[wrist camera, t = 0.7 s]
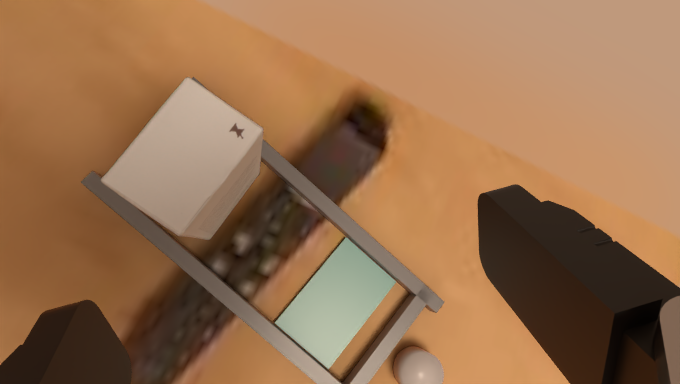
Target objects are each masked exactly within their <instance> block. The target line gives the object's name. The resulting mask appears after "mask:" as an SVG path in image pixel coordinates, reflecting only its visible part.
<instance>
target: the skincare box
mask: <svg viewBox="0 0 680 384" xmlns="http://www.w3.org/2000/svg"><path fill="white" fill-rule="evenodd" d="M262 141H263V128H262V127H261V126H259V125H258V124H256V123H255V122H254V121H252V120H251V119H249V118H248V117H246V116H245V115H243V114H242V113H240V112H239V111H237V110H236V109H235V108H233V107H232V106H230V105H229V104H227V103H226V102H224V101H223V100H221V99H220V98H219V97H217V96H216V95H214V94H213V93H211V92H210V91H209V90H207V89H206V88H204V87H203V86H201V85H200V84H198V83H197V82H196V81H194V80H193V79H191V78H190V77H186V78H185V79H184V80H183V82H182V83H181V84H180V85H179V86H178V87H177V88H176V90H175V91H174V92H173V93H172V94H171V96H170V97H169V98H168V99H167V100H166V102H165V103H164V104H163V105H162V106H161V107H160V109H159V110H158V111H157V112H156V113H155V115H154V116H153V117H152V118H151V119H150V121H149V122H148V123H147V124H146V126H145V127H144V128H143V129H142V131H141V132H140V133H139V134H138V136H137V137H136V138H135V139H134V141H133V142H132V143H131V144H130V145H129V147H128V148H127V149H126V150H125V151H124V153H123V154H122V155H121V156H120V157H119V159H118V160H117V161H116V162H115V163H114V165H113V166H112V167H111V168H110V169H109V171H108V172H107V173H106V174H105V175H104V176H103V177H102V179H101V182H102V183H103V184H105V185H106V186H107V187H109V188H110V189H111V190H113V191H114V192H116V193H117V194H118V195H120V196H121V197H123V198H124V199H125V200H127V201H128V202H130V203H131V204H133V205H134V206H135V207H137V208H138V209H140V210H141V211H143V212H144V213H145V214H147V215H148V216H150V217H151V218H153V219H154V220H155V221H157V222H158V223H160V224H161V225H163V226H164V227H166V228H167V229H169V230H170V231H172V232H173V233H175V234H176V235H178V236H186V237H193V238H199V239H205V240H210V239H211V238H212V236H213V235H214V234H215V232H216V231H217V230H218V228H219V227H220V226H221V224H222V223H223V222H224V220H225V219H226V218H227V216H228V215H229V214H230V212H231V211H232V210H233V208H234V207H235V206H236V204H237V203H238V202H239V200H240V199H241V198H242V196H243V195H244V194H245V192H246V191H247V190H248V188H249V187H250V186H251V184H252V183H253V182H254V180H255V179H256V178H257V176H258V175H259V172H260V161H261V150H262Z"/></svg>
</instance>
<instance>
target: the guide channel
mask: <svg viewBox="0 0 680 384" xmlns="http://www.w3.org/2000/svg"><path fill="white" fill-rule="evenodd" d="M192 79H193V80H194V81H196V82H197V83H198V84H200V85H201V86H203V85H202V84H201V83H200V82H199V81H197V80H196V79H195V78H194V77H193V78H192ZM203 87H204V86H203ZM204 88H205V87H204ZM207 90H208V89H207ZM261 161H262V162H264V163H265V164H266V165H267V166H268V167H269V168H270V169H271V170H272V171H274V172H275V173H276V174H277V175H278V176H279V177H280V178H281V179H283V180H284V181H285V182H286V183H287V184H288V185H289V186H290V187H292V188H293V189H294V190H295V191H296V192H297V193H298V194H299V195H301V196H302V197H303V198H304V199H305V200H306V201H307V202H308V203H309V204H311V205H312V206H313V207H314V208H315V209H316V210H317V211H318V212H320V213H321V214H322V215H323V216H324V217H325V218H326V219H327V220H329V221H330V222H331V223H332V224H333V225H334V226H335V227H336V228H338V229H339V230H340V231H341V232H342V233H343V234H344V235H345V236H346V237H345V238H344V240H343V241H342V242H341V243H340V244H339V246H338V247H337V248H336V249H335V250H334V252H333V253H332V254H331V255H330V256H329V258H328V259H327V260H326V261H325V262H324V264H323V265H322V266H321V267H320V268H319V270H318V271H317V272H316V273H315V274H314V276H313V277H312V278H311V279H310V280H309V282H308V283H307V284H306V285H305V286H304V287H303V289H302V290H301V291H300V292H299V293H298V295H297V296H296V297H295V298H294V299H293V301H292V302H291V303H290V304H289V305H288V307H287V308H286V309H285V310H284V311H283V313H282V314H281V315H280V316H279V317H278V319H277V320H276V321H275V322H274V323H275V324H276V325H277V326H279V327H280V328H281V329H282V330H283V331H284V332H286V333H287V334H288V335H289V336H290V337H291V338H293V339H294V340H295V341H296V342H297V343H298V344H300V345H301V346H302V347H303V348H304V349H305V350H306V351H308V352H309V353H310V354H311V355H312V356H313V357H315V358H316V359H317V360H318V361H319V362H320V363H322V364H323V365H324V366H325V367H326V368H327V369H329V368H330V367H331V366H332V364H333V363H334V362H335V360H336V359H337V358H338V357H339V355H340V354H341V353H342V351H343V350H344V349H345V347H346V346H347V345H348V344H349V342H350V341H351V340H352V338H353V337H354V336H355V335H356V333H357V332H358V331H359V329H360V328H361V327H362V325H363V324H364V323H365V322H366V320H367V319H368V318H369V316H370V315H371V314H372V313H373V311H374V310H375V309H376V307H377V306H378V305H379V303H380V302H381V301H382V300H383V298H384V297H385V296H386V294H387V293H388V292H389V291H390V289H391V288H392V287H393V285H394V284H395V283H396V281H397V282H398V283H399V284H400V285H401V286H403V287H404V288H405V289H406V290H407V291H408V292H409V293H410V295H409V296H408V297H407V299H406V300H405V301H404V303H403V304H402V305H401V306H400V308H399V309H398V310H397V312H396V313H395V314H394V316H393V317H392V318H391V320H390V321H389V322H388V324H387V325H386V326H385V328H384V329H383V330H382V332H381V333H380V334H379V336H378V337H377V338H376V340H375V341H374V342H373V344H372V345H371V346H370V347H369V349H368V350H367V351H366V353H365V354H364V355H363V357H362V358H361V359H360V361H359V362H358V363H357V365H356V366H355V367H354V369H353V370H352V371H351V373H350V374H349V375H348V377H347V378H346V379H345V381H344V382H343V383H342V382H341V381H340V380H339V379H337V378H336V377H335V376H334V375H333V374H332V373H330V372H329V371H328V370H327V369H326V368H325V367H323V366H322V365H321V364H320V363H319V362H318V361H316V360H315V359H314V358H313V357H312V356H311V355H309V354H308V353H307V352H306V351H305V350H304V349H302V348H301V347H300V346H299V345H298V344H297V343H295V342H294V341H293V340H292V339H291V338H290V337H288V336H287V335H286V334H285V333H284V332H283V331H281V330H280V329H279V328H278V327H277V326H276V325H274V324H273V323H272V322H271V321H270V320H269V319H267V318H266V317H265V316H264V315H263V314H262V313H260V312H259V311H258V310H257V309H256V308H255V307H253V306H252V305H251V304H250V303H249V302H248V301H246V300H245V299H244V298H243V297H242V296H241V295H239V294H238V293H237V292H236V291H235V290H234V289H232V288H231V287H230V286H229V285H228V284H227V283H226V282H224V281H223V280H222V279H221V278H220V277H219V276H217V275H216V274H215V273H214V272H213V271H212V270H210V269H209V268H208V267H207V266H206V265H205V264H203V263H202V262H201V261H200V260H199V259H198V258H196V257H195V256H194V255H193V254H192V253H191V252H189V251H188V250H187V249H186V248H185V247H184V246H182V245H181V244H180V243H179V242H178V241H177V240H175V239H174V238H173V237H172V236H171V235H170V234H168V233H167V232H166V231H165V230H164V229H163V228H161V227H160V226H159V225H158V224H157V223H156V222H154V221H153V220H152V219H151V218H150V217H149V216H147V215H146V214H145V213H144V212H143V211H141V210H140V209H138V208H137V207H135V206H134V205H133V204H131V203H130V202H128V201H127V200H125V199H124V198H123V197H121V196H120V195H118V194H117V193H116V192H114V191H113V190H111V189H110V188H109V187H107V186H106V185H105V184H103V183H102V182H101V179H102V176H101V175H100V174H98V173H96V172H94V171H92V172H91V173H90V174H89V175H88V176H87V177H85V178H84V179H83V180H82V181H81V183H82V184H83V185H84V186H86V187H87V188H88V189H89V190H90V191H92V192H93V193H94V194H95V195H96V196H97V197H99V198H100V199H101V200H102V201H103V202H104V203H106V204H107V205H108V206H109V207H110V208H111V209H113V210H114V211H115V212H116V213H117V214H118V215H120V216H121V217H122V218H123V219H124V220H126V221H127V222H128V223H129V224H130V225H131V226H133V227H134V228H135V229H136V230H137V231H138V232H140V233H141V234H142V235H143V236H144V237H145V238H147V239H148V240H149V241H150V242H151V243H152V244H154V245H155V246H156V247H157V248H158V249H160V250H161V251H162V252H163V253H164V254H165V255H167V256H168V257H169V258H170V259H171V260H172V261H174V262H175V263H176V264H177V265H178V266H179V267H181V268H182V269H183V270H184V271H185V272H186V273H188V274H189V275H190V276H191V277H192V278H194V279H195V280H196V281H197V282H198V283H199V284H201V285H202V286H203V287H204V288H205V289H206V290H208V291H209V292H210V293H211V294H212V295H213V296H215V297H216V298H217V299H218V300H219V301H221V302H222V303H223V304H224V305H225V306H226V307H228V308H229V309H230V310H231V311H232V312H233V313H235V314H236V315H237V316H238V317H239V318H240V319H242V320H243V321H244V322H245V323H246V324H247V325H249V326H250V327H251V328H252V329H253V330H255V331H256V332H257V333H258V334H259V335H260V336H262V337H263V338H264V339H265V340H266V341H267V342H269V343H270V344H271V345H272V346H273V347H274V348H276V349H277V350H278V351H279V352H280V353H281V354H283V355H284V356H285V357H286V358H287V359H289V360H290V361H291V362H292V363H293V364H294V365H296V366H297V367H298V368H299V369H300V370H301V371H303V372H304V373H305V374H306V375H307V376H308V377H310V378H311V379H312V380H313V381H314V382H315V383H317V384H368V383H369V381H370V380H371V379H372V377H373V376H374V375H375V373H376V372H377V370H378V369H379V368H380V366H381V365H382V364H383V362H384V361H385V360H386V358H387V357H388V356H389V354H390V353H391V352H392V350H393V349H394V347H395V346H396V345H397V343H398V342H399V341H400V339H401V338H402V337H403V335H404V334H405V333H406V331H407V330H408V329H409V327H410V326H411V324H412V323H413V322H414V320H415V319H416V318H417V316H418V315H419V314H420V312H421V311H422V310H423V308H424V307H426V308H427V309H428V310H429V311H432V312H435V313H437V312H438V310H439V309H440V308H441V306H442V305H443V304H444V301H443V300H442V299H441V298H439V297H438V296H437V295H436V294H435V293H434V292H433V291H432V290H431V289H429V288H428V287H427V286H426V285H425V284H424V283H423V282H422V281H420V280H419V279H418V278H417V277H416V276H415V275H414V274H413V273H412V272H410V271H409V270H408V269H407V268H406V267H405V266H404V265H403V264H402V263H400V262H399V261H398V260H397V259H396V258H395V257H394V256H393V255H391V254H390V253H389V252H388V251H387V250H386V249H385V248H384V247H383V246H381V245H380V244H379V243H378V242H377V241H376V240H375V239H374V238H373V237H371V236H370V235H369V234H368V233H367V232H366V231H365V230H364V229H363V228H361V227H360V226H359V225H358V224H357V223H356V222H355V221H354V220H352V219H351V218H350V217H349V216H348V215H347V214H346V213H345V212H344V211H342V210H341V209H340V208H339V207H338V206H337V205H336V204H335V203H334V202H332V201H331V200H330V199H329V198H328V197H327V196H326V195H325V194H323V193H322V192H321V191H320V190H319V189H318V188H317V187H316V186H315V185H313V184H312V183H311V182H310V181H309V180H308V179H307V178H306V177H305V176H303V175H302V174H301V173H300V172H299V171H298V170H297V169H296V168H294V167H293V166H292V165H291V164H290V163H289V162H288V161H287V160H286V159H284V158H283V157H282V156H281V155H280V154H279V153H278V152H277V151H276V150H274V149H273V148H272V147H271V146H270V145H269V144H268V143H267V142H266V141H264V140H263V141H262V150H261ZM347 237H348V238H349V239H350V240H351V241H352V242H353V243H354V244H353V243H352V242H351V241H350V240H349V239H348V238H347ZM356 245H357V246H358V247H359V248H360V249H361V250H362V251H363V252H364V253H363V252H362V251H361V250H360V249H359V248H358V247H357V246H356ZM365 253H366V254H367V255H368V256H369V257H370V258H371V259H372V260H373V261H372V260H371V259H370V258H369V257H368V256H367V255H366V254H365ZM374 261H375V262H376V263H377V264H378V265H379V266H380V267H381V268H382V269H381V268H380V267H379V266H378V265H377V264H376V263H375V262H374ZM384 270H385V271H386V272H387V273H388V274H389V275H390V276H391V277H390V276H389V275H388V274H387V273H386V272H385V271H384ZM393 278H394V279H395V280H396V281H395V280H394V279H393ZM393 372H394V376H395V378H396V380H397V382H398V383H399V384H442V382H443V378H444V372H443V367H442V365H441V363H440V361H439V360H438V359H437V358H436V357H435V356H434V355H432V354H430V353H428V352H427V351H425V350H423V349H421V348H419V347H416V346H410V347H407V348H404V349H403V350H401V351H400V352H399V353H398V355H397V356H396V358H395V361H394V364H393Z"/></svg>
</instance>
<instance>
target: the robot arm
mask: <svg viewBox="0 0 680 384" xmlns="http://www.w3.org/2000/svg"><path fill="white" fill-rule="evenodd" d="M478 231H479V255H480V260H481V263H482V266H483V269H484V271H485V273H486V275H487V277H488V279H489V280H490V281H491V283H492V284H493V285H494V287H495V288H496V289H497V290H498V292H499V293H500V294H501V296H502V297H503V298H504V299H505V301H506V302H507V303H508V305H509V306H510V307H511V308H512V310H513V311H514V312H515V313H516V315H517V316H518V317H519V319H520V320H521V321H522V322H523V324H524V325H525V326H526V328H527V329H528V330H529V331H530V333H531V334H532V335H533V337H534V338H535V339H536V340H537V342H538V343H539V344H540V345H541V347H542V348H543V349H544V351H545V352H546V353H547V354H548V356H549V357H550V358H551V360H552V361H553V362H554V363H555V365H556V366H557V367H558V368H559V370H560V371H561V372H562V374H563V375H564V376H565V377H566V379H567V380H568V381H569V383H570V384H680V288H679V287H678V286H676V285H675V284H674V283H672V282H671V281H670V280H668V279H667V278H665V277H664V276H663V275H661V274H660V273H659V272H657V271H656V270H655V269H653V268H652V267H651V266H649V265H648V264H647V263H645V262H644V261H642V260H641V259H640V258H638V257H637V256H636V255H634V254H633V253H632V252H630V251H629V250H628V249H626V248H625V247H623V246H622V245H621V244H619V243H618V242H617V241H615V242H613V241H612V238H611V237H610V236H609V235H607V234H606V233H604V232H603V231H602V230H600V229H599V228H598V229H596V228H595V225H594V224H592V223H591V222H590V221H588V220H587V219H585V218H584V217H583V216H581V215H580V214H579V213H577V212H576V211H575V210H572V209H569V208H567V207H564V206H562V205H559V204H556V203H554V202H551V201H544V202H540V201H539V200H538V199H536V198H535V197H534V196H533V195H531V194H530V193H529V192H528V191H526V190H525V189H524V188H523V187H521V186H520V185H511V186H508V187H504V188H500V189H497V190H493V191H489V192H485V193H482V194H480V196H479V198H478ZM131 373H132V372H131V363H130V359H129V355H128V353H127V351H126V349H125V348H124V346H123V345H122V343H121V341H120V340H119V338H118V337H117V335H116V334H115V332H114V331H113V329H112V328H111V326H110V324H109V323H108V321H107V320H106V318H105V317H104V315H103V314H102V312H101V310H100V309H99V307H98V306H97V305H96V304H95V303H94V302H93V301H90V300H84V301H80V302H77V303H73V304H69V305H66V306H62V307H58V308H55V309H51V310H47V311H45V312H43V313H42V314H41V315H40V317H39V318H38V320H37V322H36V323H35V325H34V327H33V328H32V330H31V332H30V333H29V335H28V337H27V338H26V340H25V342H24V344H23V345H20V346H19V347H18V348H17V349H16V350H15V351H14V352H13V353H12V354H11V355H10V356H9V357H8V358H7V359H6V360H5V361H4V362H3V363H2V364H1V365H0V384H130V383H131Z"/></svg>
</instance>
